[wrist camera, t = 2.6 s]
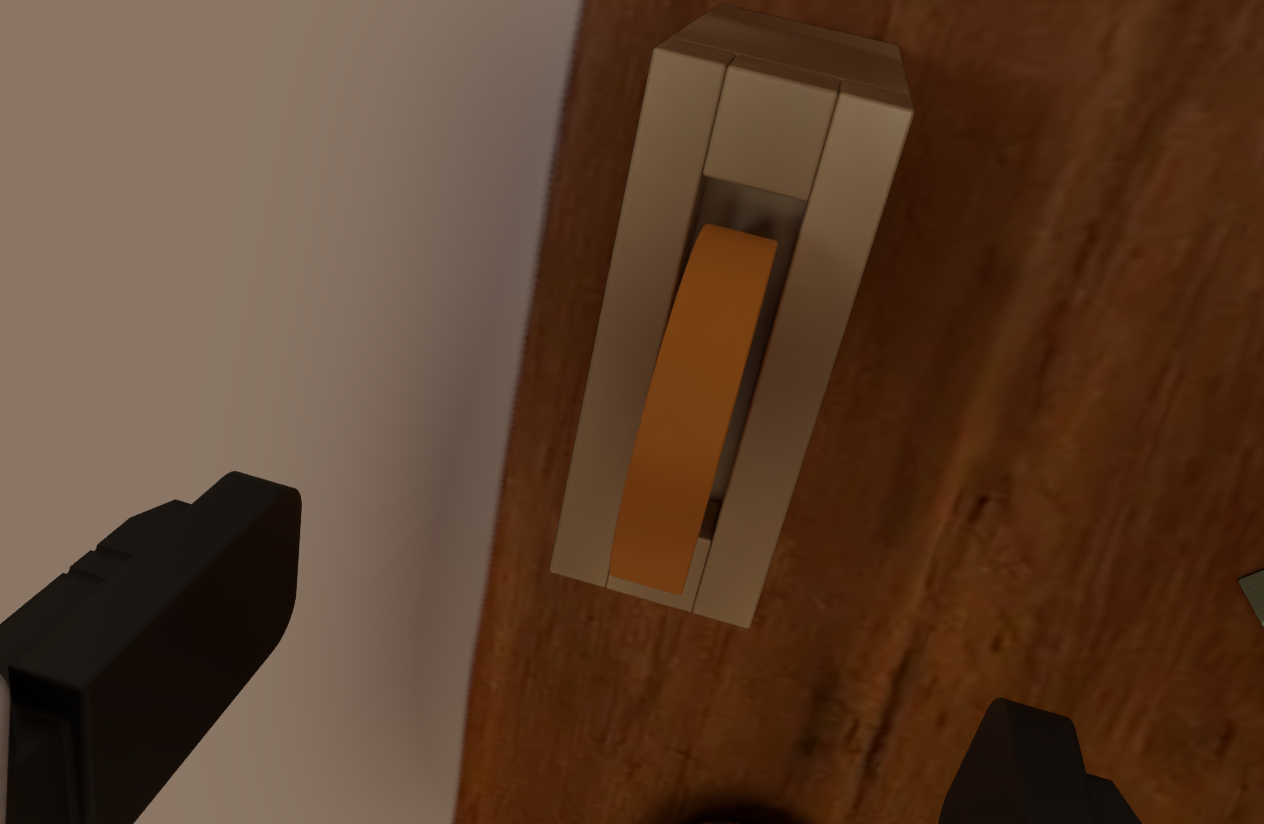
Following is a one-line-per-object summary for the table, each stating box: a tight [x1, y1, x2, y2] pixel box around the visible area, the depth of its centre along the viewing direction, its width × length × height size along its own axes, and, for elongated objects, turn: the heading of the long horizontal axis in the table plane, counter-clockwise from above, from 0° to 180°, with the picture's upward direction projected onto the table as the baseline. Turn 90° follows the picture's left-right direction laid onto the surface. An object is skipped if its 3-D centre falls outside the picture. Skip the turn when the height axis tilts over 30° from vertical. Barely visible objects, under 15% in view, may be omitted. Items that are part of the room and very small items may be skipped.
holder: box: [550, 4, 914, 628], centre depth 23 cm, size 4×10×8 cm, turn 169°
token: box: [610, 223, 778, 595], centre depth 17 cm, size 1×6×6 cm, turn 168°
